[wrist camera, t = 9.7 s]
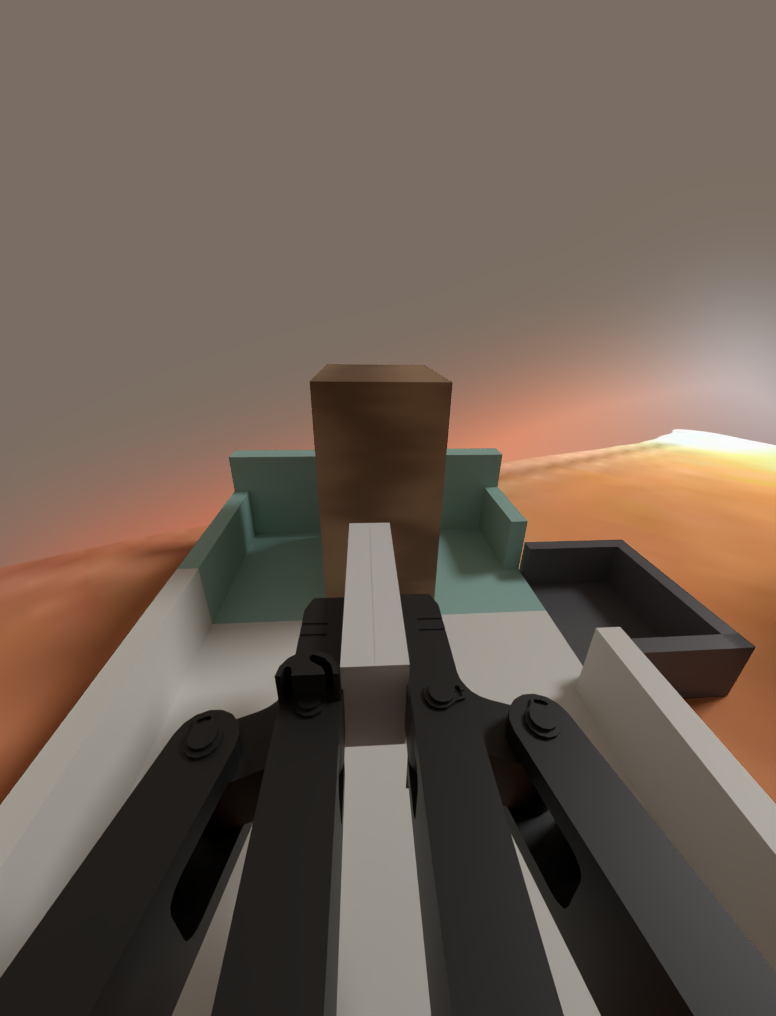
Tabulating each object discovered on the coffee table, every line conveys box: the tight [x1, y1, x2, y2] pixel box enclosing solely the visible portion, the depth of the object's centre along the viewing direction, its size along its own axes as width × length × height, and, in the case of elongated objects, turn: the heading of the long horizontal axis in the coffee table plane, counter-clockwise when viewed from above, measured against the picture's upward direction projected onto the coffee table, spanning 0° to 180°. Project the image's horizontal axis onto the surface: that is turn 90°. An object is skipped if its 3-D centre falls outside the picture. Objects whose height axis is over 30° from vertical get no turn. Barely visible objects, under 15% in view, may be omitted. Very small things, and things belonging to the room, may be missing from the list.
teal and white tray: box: [0, 448, 776, 1016], centre depth 18 cm, size 19×25×7 cm
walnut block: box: [310, 364, 452, 599], centre depth 22 cm, size 6×8×12 cm
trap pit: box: [519, 540, 756, 698], centre depth 20 cm, size 6×9×3 cm
